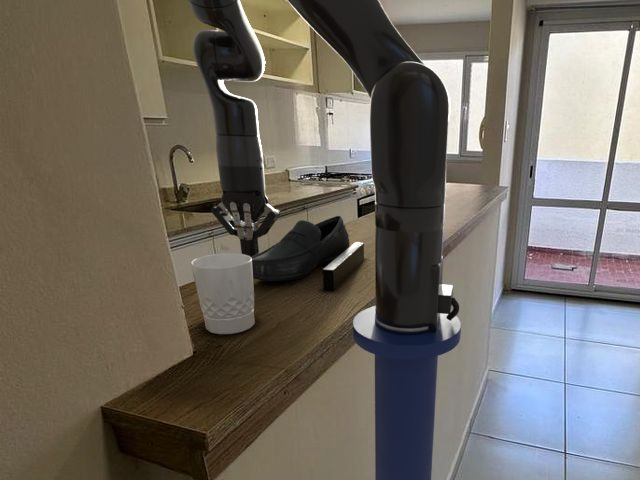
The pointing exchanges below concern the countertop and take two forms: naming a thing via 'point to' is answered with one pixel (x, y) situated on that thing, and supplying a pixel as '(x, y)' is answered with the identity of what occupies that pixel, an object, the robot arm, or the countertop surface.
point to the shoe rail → (342, 266)
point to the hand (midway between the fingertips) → (250, 257)
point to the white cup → (225, 291)
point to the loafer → (302, 250)
